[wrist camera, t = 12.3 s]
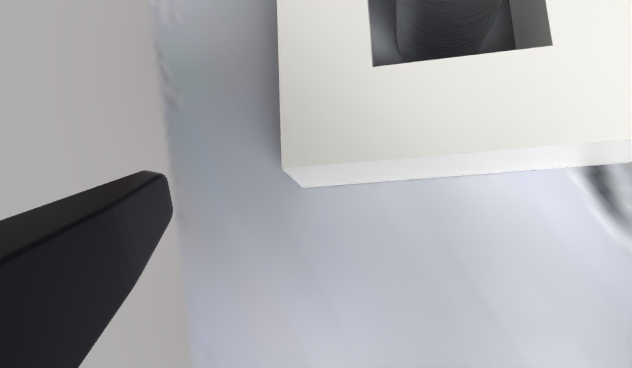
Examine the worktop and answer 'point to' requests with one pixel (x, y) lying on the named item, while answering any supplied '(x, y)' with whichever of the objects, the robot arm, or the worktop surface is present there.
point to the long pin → (443, 27)
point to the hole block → (453, 96)
